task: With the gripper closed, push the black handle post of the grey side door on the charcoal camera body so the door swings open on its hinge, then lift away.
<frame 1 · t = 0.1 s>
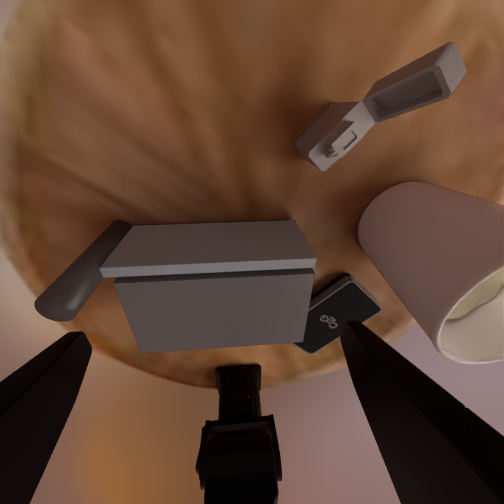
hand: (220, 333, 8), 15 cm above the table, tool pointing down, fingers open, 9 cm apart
candle holder: (396, 221, 24), on the table
lighter: (333, 116, 18), on the table
camera body: (223, 265, 24), on the table
external hard drive: (322, 308, 30), on the table
side door: (199, 255, 18), point 5 cm above the table, hinge at 0.0°
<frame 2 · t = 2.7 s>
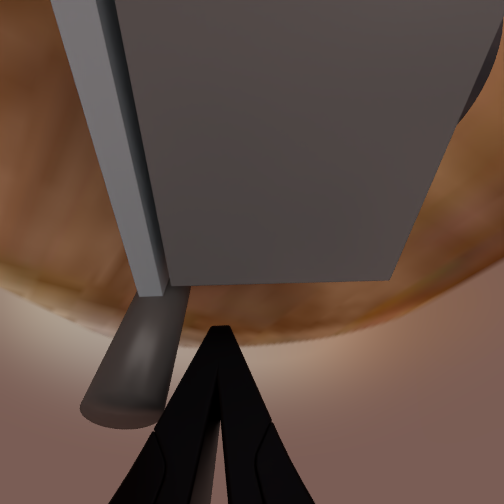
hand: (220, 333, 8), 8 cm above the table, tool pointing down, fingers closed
camera body: (269, 55, 10), on the table
side door: (121, 76, 6), point 5 cm above the table, hinge at 0.1°, touching gripper
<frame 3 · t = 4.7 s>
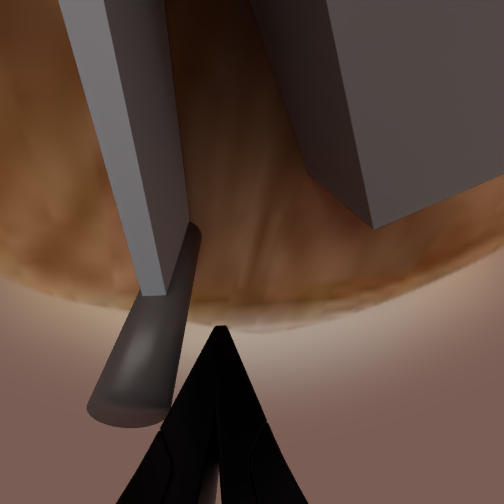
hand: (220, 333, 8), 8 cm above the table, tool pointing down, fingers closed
side door: (125, 76, 6), point 5 cm above the table, hinge at 27.5°, touching gripper
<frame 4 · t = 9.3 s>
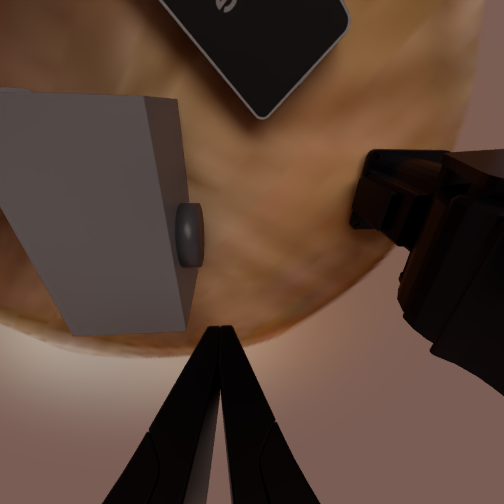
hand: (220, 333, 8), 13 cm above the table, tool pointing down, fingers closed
camera body: (140, 202, 19), on the table
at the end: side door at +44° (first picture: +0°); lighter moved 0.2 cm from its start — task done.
